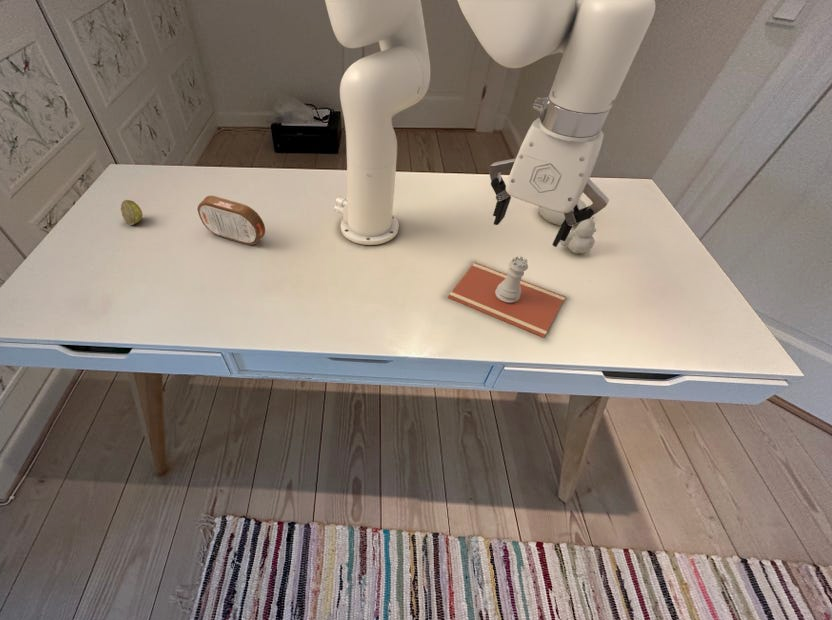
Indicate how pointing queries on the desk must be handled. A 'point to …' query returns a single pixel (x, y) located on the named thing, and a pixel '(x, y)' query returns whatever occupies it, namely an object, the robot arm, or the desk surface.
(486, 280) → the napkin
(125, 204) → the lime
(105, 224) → the desk surface
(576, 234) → the grey lumpy figurine
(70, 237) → the desk surface
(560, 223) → the donut
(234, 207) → the tin
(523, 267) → the rook chess piece
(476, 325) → the desk surface
